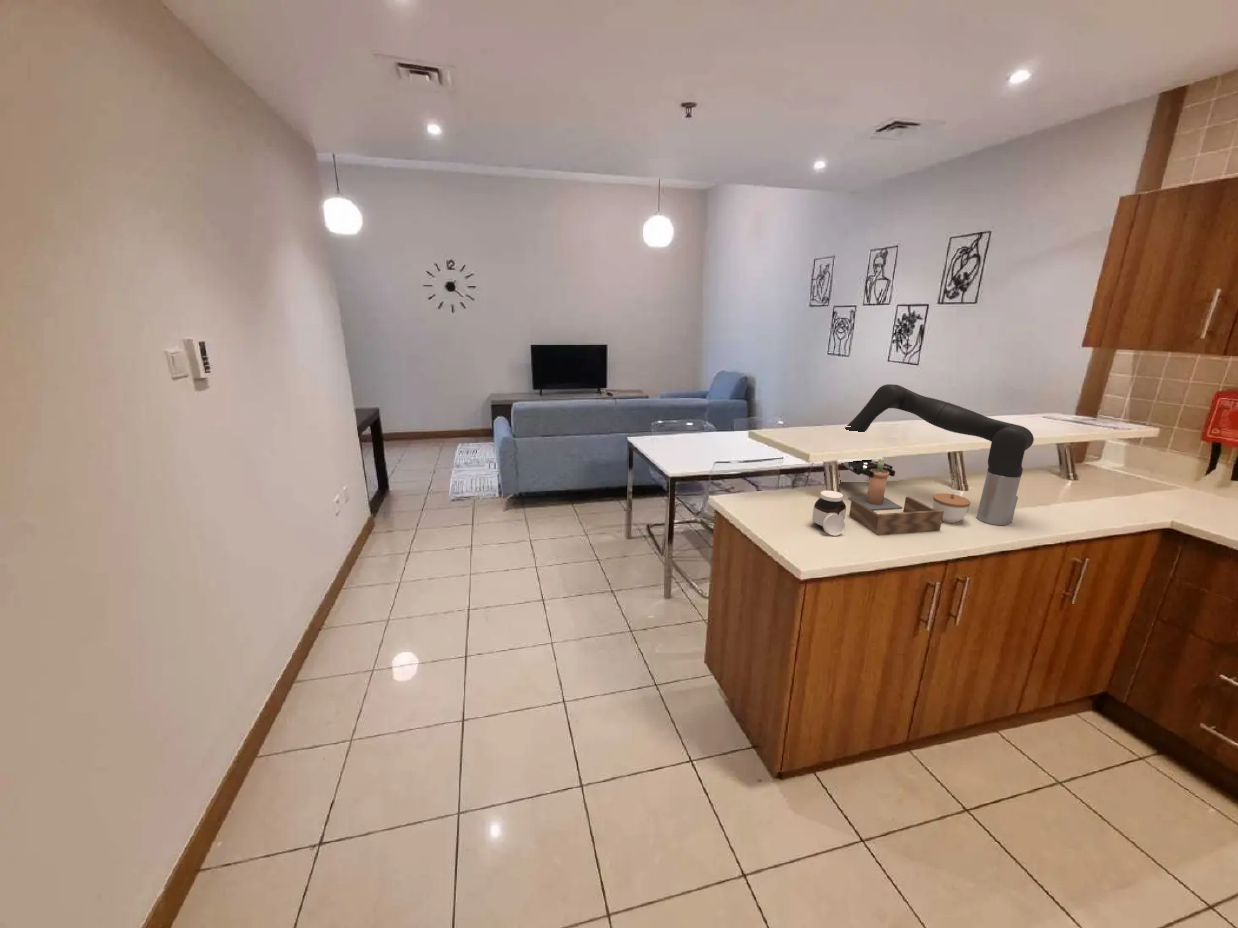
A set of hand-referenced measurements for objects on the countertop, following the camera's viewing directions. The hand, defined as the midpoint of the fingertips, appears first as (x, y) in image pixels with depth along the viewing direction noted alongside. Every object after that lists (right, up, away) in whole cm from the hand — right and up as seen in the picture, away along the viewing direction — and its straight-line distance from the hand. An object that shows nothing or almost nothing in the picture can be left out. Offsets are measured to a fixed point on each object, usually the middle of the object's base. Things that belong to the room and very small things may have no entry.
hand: (883, 474), depth 182 cm
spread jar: (-26, -18, -16) cm, 35 cm away
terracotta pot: (0, -11, +5) cm, 12 cm away
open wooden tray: (-3, -16, -11) cm, 20 cm away
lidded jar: (+18, -16, -8) cm, 25 cm away
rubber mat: (0, -11, +6) cm, 12 cm away
